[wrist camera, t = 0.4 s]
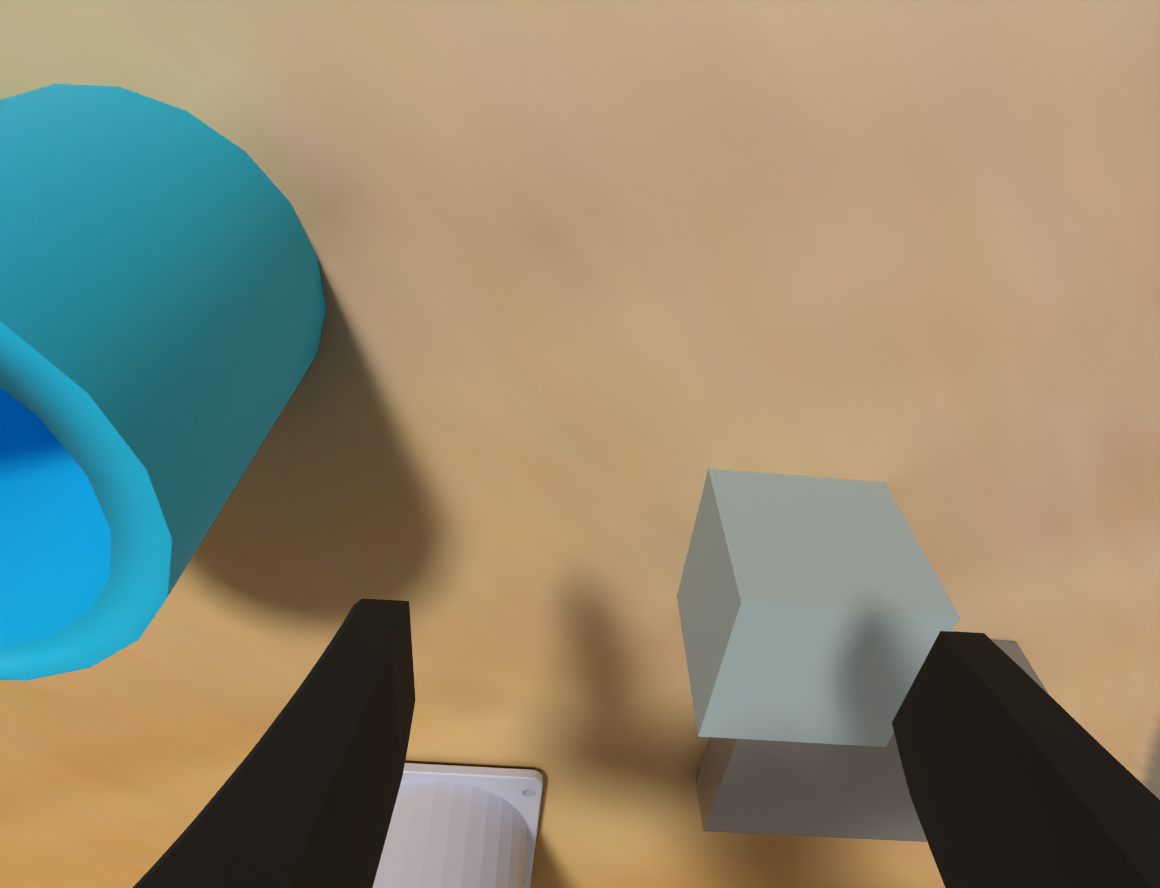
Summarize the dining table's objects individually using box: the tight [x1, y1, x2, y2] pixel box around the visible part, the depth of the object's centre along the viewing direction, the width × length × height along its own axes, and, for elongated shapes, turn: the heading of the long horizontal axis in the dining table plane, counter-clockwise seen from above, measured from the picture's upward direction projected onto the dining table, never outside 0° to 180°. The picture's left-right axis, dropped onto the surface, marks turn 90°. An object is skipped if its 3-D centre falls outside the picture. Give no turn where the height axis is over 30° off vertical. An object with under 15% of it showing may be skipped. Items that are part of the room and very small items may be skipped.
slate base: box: [696, 640, 1047, 842], centre depth 26 cm, size 9×9×2 cm
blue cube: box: [677, 469, 960, 747], centre depth 20 cm, size 5×5×5 cm
